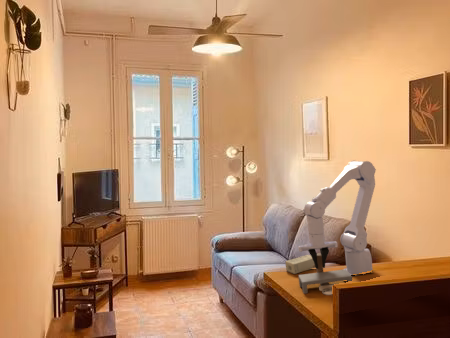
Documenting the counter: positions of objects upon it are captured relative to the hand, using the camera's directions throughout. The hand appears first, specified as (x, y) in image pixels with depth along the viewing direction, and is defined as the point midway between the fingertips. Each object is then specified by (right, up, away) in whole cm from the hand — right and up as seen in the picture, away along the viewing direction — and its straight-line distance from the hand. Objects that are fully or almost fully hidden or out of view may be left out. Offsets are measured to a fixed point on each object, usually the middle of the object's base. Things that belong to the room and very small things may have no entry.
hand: (320, 267), depth 166 cm
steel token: (+1, -7, -12) cm, 14 cm away
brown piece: (+1, -5, -3) cm, 6 cm away
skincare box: (-10, -3, +14) cm, 17 cm away
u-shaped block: (+1, -6, -6) cm, 8 cm away
